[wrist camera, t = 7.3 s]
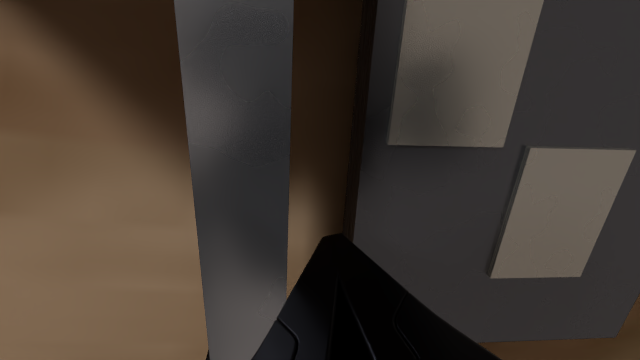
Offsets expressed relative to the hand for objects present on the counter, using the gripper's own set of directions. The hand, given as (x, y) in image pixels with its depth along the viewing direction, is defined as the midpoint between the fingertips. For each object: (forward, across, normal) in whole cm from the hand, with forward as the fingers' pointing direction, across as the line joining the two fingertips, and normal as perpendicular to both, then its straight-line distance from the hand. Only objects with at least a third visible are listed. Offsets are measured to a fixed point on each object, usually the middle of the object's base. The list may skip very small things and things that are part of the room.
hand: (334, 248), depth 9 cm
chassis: (+4, -7, 0) cm, 8 cm away
